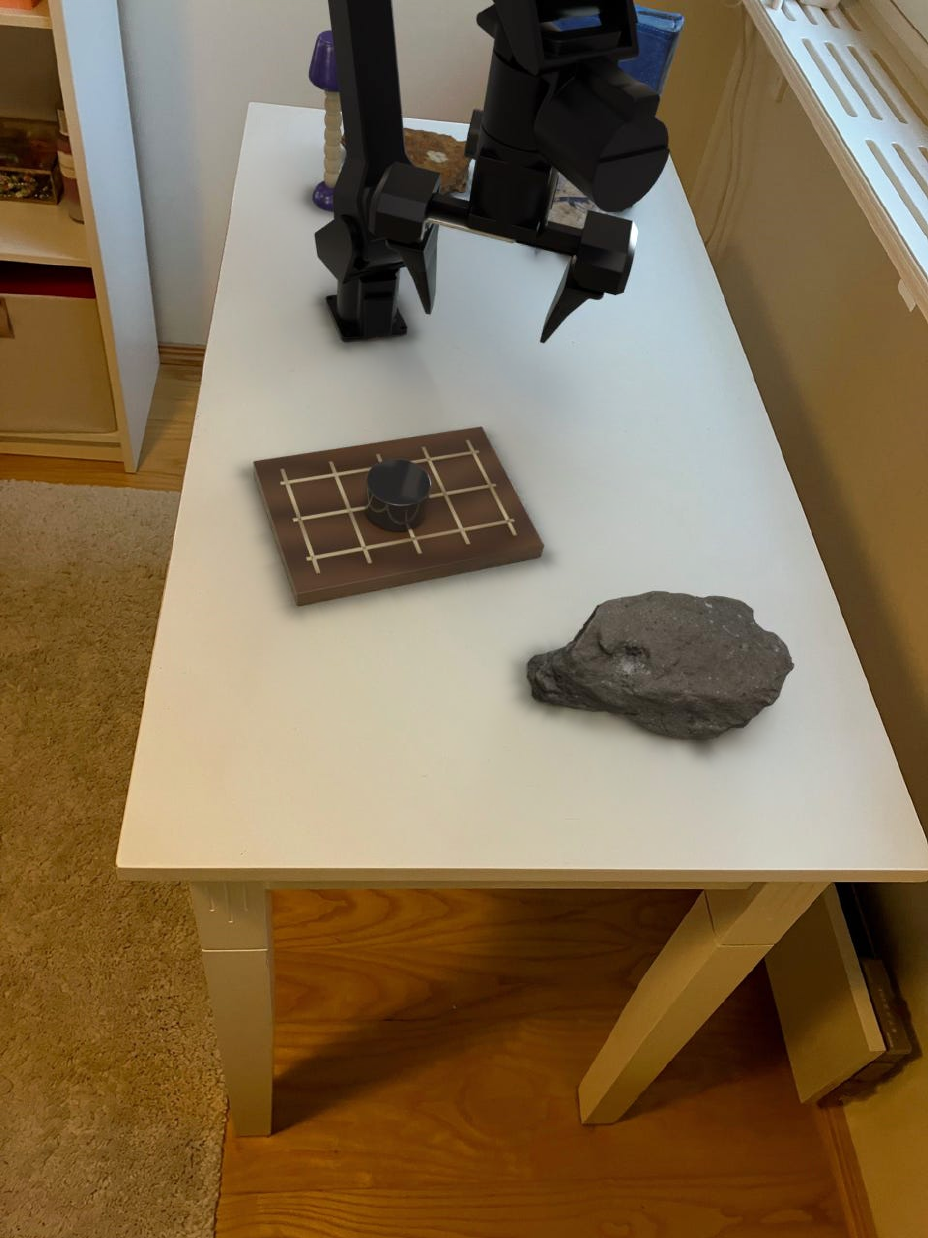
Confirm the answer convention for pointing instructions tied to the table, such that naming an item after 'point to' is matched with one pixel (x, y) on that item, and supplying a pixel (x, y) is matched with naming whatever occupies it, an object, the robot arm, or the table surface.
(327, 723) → the table surface
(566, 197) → the mineral specimen
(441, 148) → the decorative rock
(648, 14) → the book
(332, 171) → the toy lamp
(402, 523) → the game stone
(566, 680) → the stone
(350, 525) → the game board
